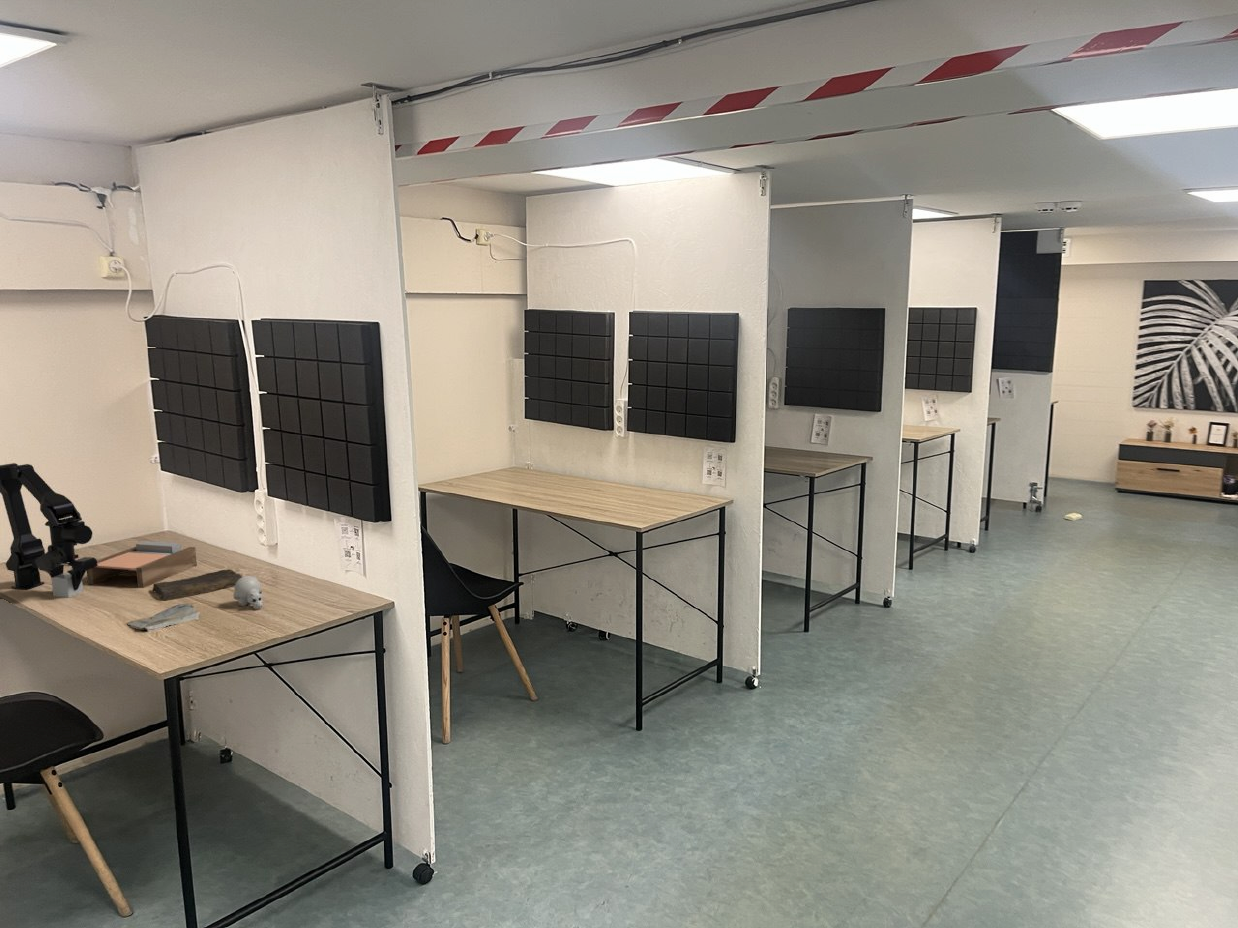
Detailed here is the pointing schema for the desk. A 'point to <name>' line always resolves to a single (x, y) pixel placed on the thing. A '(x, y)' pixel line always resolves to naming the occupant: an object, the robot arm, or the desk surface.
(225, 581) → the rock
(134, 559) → the trapdoor
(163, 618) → the fossil rock
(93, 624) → the desk surface
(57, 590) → the gray cube
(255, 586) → the chubby cartoon animal
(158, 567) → the frame
